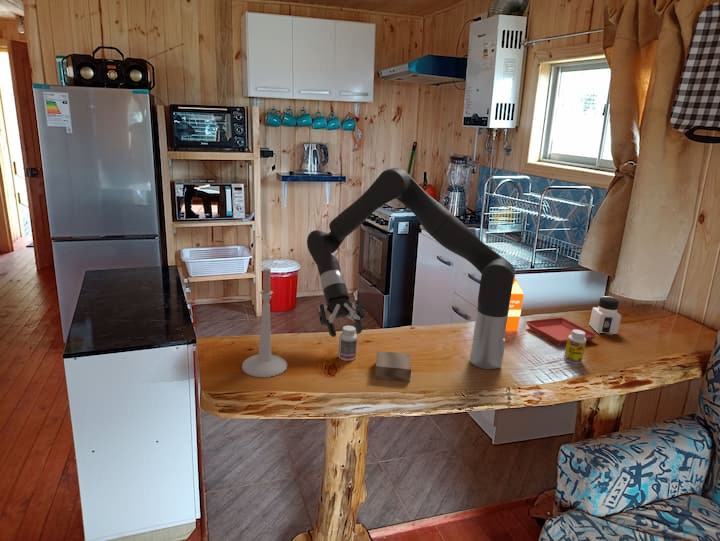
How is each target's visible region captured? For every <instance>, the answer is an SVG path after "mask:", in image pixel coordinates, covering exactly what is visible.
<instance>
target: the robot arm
mask: <svg viewBox="0 0 720 541" xmlns="http://www.w3.org/2000/svg"><path fill="white" fill-rule="evenodd" d="M393 200H397V201H399V202H400V203H401V204H402V205H404V206H405V207H407V209H409V210H410V211H411V212H412V214H414V215H415V217H416V219H417V220H418V222H419V223H420V225H421V226H422V227H423V229H424V230H425V232H426V233H428V234H429V236H431V237H432V238H433V239H434V240H435V241H436V242H437V243H439V244H440V245H441V246H442V247H444V248H445V250H448V251H450V252H452V253H453V254H455V255H457V256H460V257H462V258H463V259H465V260H466V261H468V262H469V263H470V264H471V265H472V266H473V267H475V269H476V270H477V271H479V273H480V274H481V275H480V282H479V289H478V297H477V308H476V309H477V310H476V317H475V322H474V329H473V336H472V343H471V349H470V355H469V362H470V363H471V364H472V365H473V366H475V367H477V368H479V369H483V370H496V369H502V364H503V358H504V352H505V346H506V342H507V341H506V337H505V335H506V332H505V330H506V324H507V318H508V312H509V305H510V298H511V292H512V286H513V281H514V278H515V276H516V271H515V268H514V266H513V264H512V263H511V262H510V261H508V259H506V258H504V257H503V256H502V255H500V254H499V253H497V252H496V251H495V250H493V249H492V248H490V247H489V246H488V245H486V243H484V242H483V241H482V240H481V239H480V238H479V237H478V236H477V235H476V234H475V233H474V232H473V231H472V230H471V229H470V228H468V226H466V225H465V223H463V222H462V221H461V220H460V219H459V218H458V217H456V215H454V214H453V213H452V212H451V211H450V210H448V209H447V208H446V207H444V206H443V205H442V204H441V203H440V202H438V201H437V200H436V199H434V198H433V197H432V196H430V195H429V194H428V192H426V191H425V190H424V189H423V188H422V187H421V186H420V184H418V183H417V182H416V180H414V178H413V177H412V176H411V175H410V174H409V173H408V172H407V171H406V170H404V169H403V168H399V167H391V168H387V169H386V170H383V171H382V172H381V173H380V175H378V177H376V179H375V180H374V181H373V183H371V185H370V186H369V188H368V189H367V190H366V191H365V192H364V193H363V194H362V195H360V197H359V198H357V200H355V201H354V202H353V203H351V204H350V205H349V206H347V207H346V208H345V209H343V211H342V212H340V213H339V214H338V215H337V216H336V217H334V218H333V219H332V220H330V223H329V230H330V232H328V233H327V232H325V231H322V230H319V229H318V230H317V229H315V230H312V231H310V233H308V236H307V239H306V246H307V249H308V252H309V254H310V256H311V258H312V259H313V262H314V263H315V264H316V266H317V272H318V275H319V278H320V284H321V289H322V292H323V297H324V300H325V304H326V305H324V304H323V303H321V304H319V306H318V307H317V313H318V318H319V323H320V325H321V326H327V330H328V334H329V336H331V338H335V337H336V336H337V332H336V327H335V324H334V323H333V322H334V320H335V318H336V319H339V318H346V317H347V318H348V319H349V320H351V321H353V322H354V323H353V324H354V327H355V328H356V332H355V333H356V335H359V334H361V333H362V332H363V326H362V322H361V321H363V319H364V318H366V315H365V313H364V309H363V307H362V303H361V301H360V300H356V301H353V302H352V301H351V300H350V294H349V292H348V291H349V290H348V288H347V285H346V281H345V278H344V275H343V273H342V270H341V267H340V263H339V260H338V258H337V257H336V256H335V255H333V254H334V253H335V252H336V251H337V250H338V249H339V248H340V246H341V244H342V243H343V242H344V241H345V239H346V237H348V236H349V235H350V234H351V233H354V231H355V230H357V229H358V228H359V227H360V226H361V225H362V224H363V223H364V222H366V220H367V219H368V218H369V217H370V216H371V215H372V214H373V213H374V212H375V211H377V210H378V209H379V208H381V207H382V206H384V205H386V204H387V203H389V202H392V201H393ZM326 312H328V313H329V317H328V319H327V316H326Z"/></svg>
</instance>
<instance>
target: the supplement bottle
mask: <svg viewBox="0 0 720 541" xmlns="http://www.w3.org/2000/svg"><path fill="white" fill-rule="evenodd" d="M586 345H587V342H586V338H585V332H584V331H581V330H576V329H575V330H572V334H571V335H569V336H568V340H567V344H566V346H565V350H564V354H563V355H564V356H563V358H564V360H565V361H566V362H568V363H571V364H573V365H577V364H578V365H579V364H581V363H582V362H583V359H584V353H585V349H586Z"/></svg>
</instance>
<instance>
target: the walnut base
mask: <svg viewBox="0 0 720 541" xmlns="http://www.w3.org/2000/svg"><path fill="white" fill-rule="evenodd" d="M375 358H376V359H375V370H374V371H375V372H374V380H384V381H395V382H405V383H406V382H407V383H410V382H411V374H412V362H411V361H412V358H411V353H406V352H405V353H404V352H393V351H383V350H380V351H379V350H377V351H376V356H375Z"/></svg>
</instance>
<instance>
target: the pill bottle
mask: <svg viewBox="0 0 720 541" xmlns="http://www.w3.org/2000/svg"><path fill="white" fill-rule="evenodd" d="M341 330H342V331H341V332H342V333H340V334H339V342H338V343H339V344H338V358H339V359H341V360H342V361H344V362H345V361H347V362H348V361H353V360H355V359H356V356H357V345H358V344H357V343H358V334H357V332H356V328H355V326H353V325H344V326H343V327H342V329H341Z"/></svg>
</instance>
